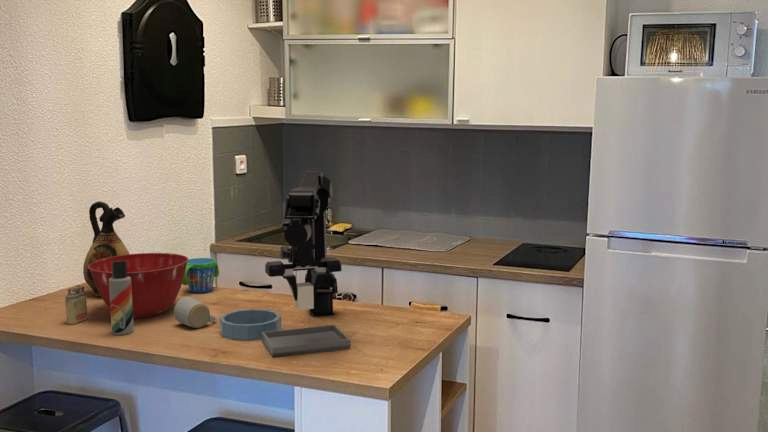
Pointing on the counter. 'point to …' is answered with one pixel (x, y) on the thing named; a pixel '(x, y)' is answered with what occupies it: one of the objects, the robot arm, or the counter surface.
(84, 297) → the lighter
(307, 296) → the beige rectangular block
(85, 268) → the ceramic jug
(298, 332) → the tray
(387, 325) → the counter surface
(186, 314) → the ceramic mug
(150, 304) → the mixing bowl
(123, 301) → the lotion bottle
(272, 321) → the blue ring
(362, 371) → the counter surface
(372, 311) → the counter surface
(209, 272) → the snack cup
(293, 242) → the robot arm
